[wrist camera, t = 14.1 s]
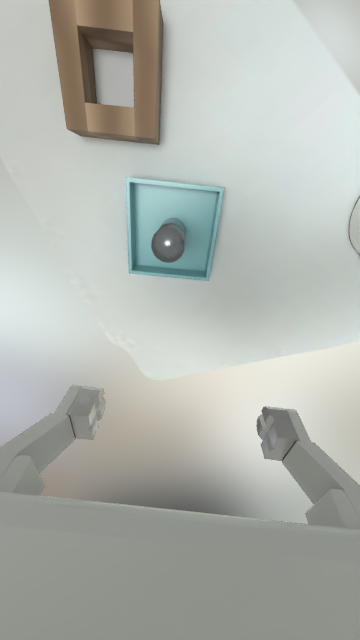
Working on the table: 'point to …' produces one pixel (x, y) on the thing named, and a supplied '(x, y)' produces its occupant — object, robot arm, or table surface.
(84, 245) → the table surface
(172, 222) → the pin
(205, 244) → the tray
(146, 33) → the pin block
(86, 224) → the table surface
